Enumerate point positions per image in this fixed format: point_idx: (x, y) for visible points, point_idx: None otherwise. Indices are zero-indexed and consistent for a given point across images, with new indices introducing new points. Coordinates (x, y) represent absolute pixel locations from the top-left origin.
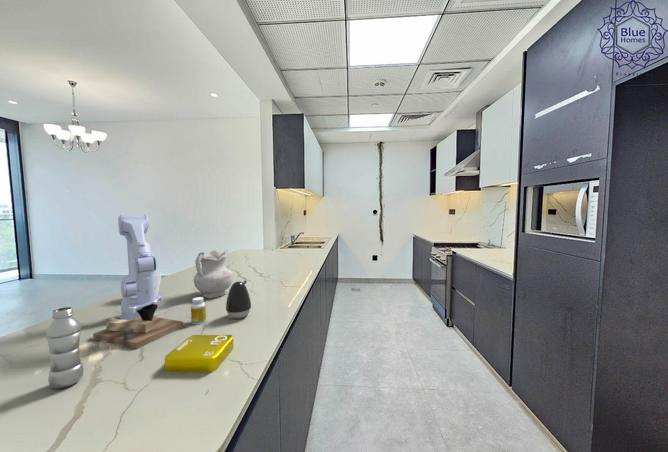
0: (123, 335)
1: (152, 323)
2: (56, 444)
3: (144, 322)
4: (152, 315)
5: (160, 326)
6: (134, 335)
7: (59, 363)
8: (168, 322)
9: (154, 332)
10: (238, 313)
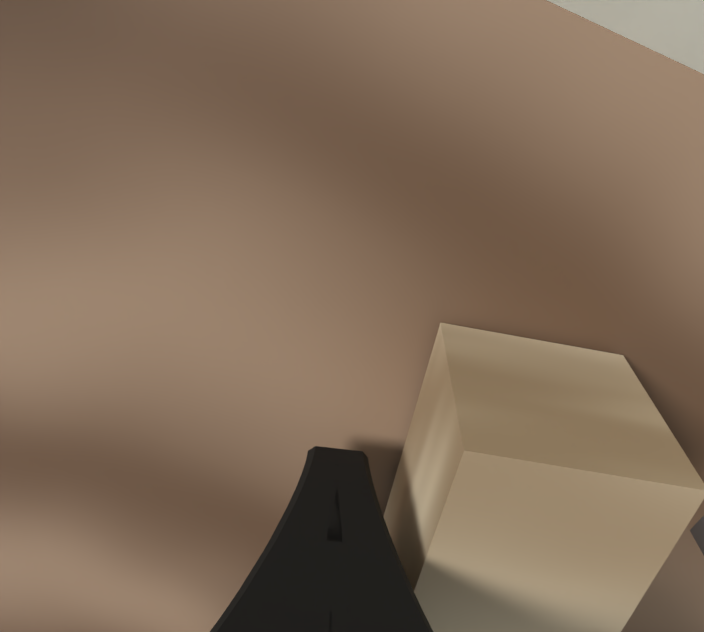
0: None
1: (466, 405)
2: None
3: (532, 578)
4: (288, 614)
5: (273, 246)
6: None
7: None
8: (26, 184)
9: (620, 194)
10: None
